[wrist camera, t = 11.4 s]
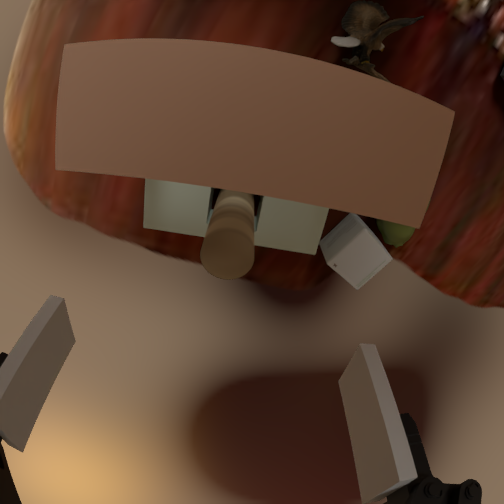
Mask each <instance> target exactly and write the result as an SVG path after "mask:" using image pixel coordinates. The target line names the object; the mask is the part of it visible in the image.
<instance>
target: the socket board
mask: <svg viewBox="0 0 504 504" xmlns="http://www.w3.org/2000/svg"><path fill="white" fill-rule="evenodd" d="M213 194H214V188H213V187H206V186H199V185H192V184H185V183H178V182H170V181H162V180H154V179H146V178H145V197H144V227H143V228H149V229H155V230H162V231H168V232H175V233H181V234H187V235H194V236H200V237H205V235H206V232H207V228H208V225H209V222H210V219H211V216H212V213H213V210H214V209H211V208H212V201H213ZM328 211H329V208H326V207H321V206H316V205H311V204H306V203H300V202H295V201H290V200H284V199H279V198H273V197H268V196H262V195H260V200H259V205H258V210H257V215H256V216H254V245H257V246H263V247H269V248H276V249H282V250H288V251H294V252H300V253H306V254H312V255H315V254H316V251H317V248H318V245H319V241H320V238H321V235H322V231H323V228H324V224H325V221H326V218H327V214H328Z"/></svg>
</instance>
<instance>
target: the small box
mask: <svg viewBox="0 0 504 504" xmlns="http://www.w3.org/2000/svg"><path fill="white" fill-rule="evenodd" d="M319 245H320V247H321V250H322V252H323V255H324V258H325V260H326V263H327V265H329V266H330V267H331V268H332V269H333V270H334V271H336V272H337V273H338V274H339V275H340V276H342V277H343V278H344V279H345V280H346V281H347V282H348V283H350V284H351V285H352V286H353V287H354V288H355V289H356V290H358V289H359V288H361V287H362V286H363V285H364V284H365V283H366V282H368V281H369V280H370V279H371V278H372V277H373V276H374V275H375V274H377V273H378V272H379V271H380V270H381V269H382V268H383V267H384V266H386V265H387V264H388V263H389V262H390V261H391V260H392V257H391V256H390V254H389V253H388V251H387V250H386V249H385V247H384V246H383V244H382V243H381V242H380V240H379V239H378V238H377V237H376V235H375V234H374V233H373V232H372V231H371V230H370V228H369V227H368V226H367V225H366V224H365V223H364V222H363V221H362V220H361V218H360V217H359V216H358V215H357V214H354V213H349V214H348V215H347V216H346V217H345V218H344V219H343V220H342V221H341V222H340V223H339V224H338V225H337V226H336V227H335V228H334V229H333V230H332V231H331V232H329V233H328V234H327V235H326V236H325V237H324V238H323V239H322V240H321V241H320V242H319Z"/></svg>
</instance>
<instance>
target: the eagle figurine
mask: <svg viewBox="0 0 504 504" xmlns="http://www.w3.org/2000/svg"><path fill="white" fill-rule="evenodd" d="M423 17H424V16H420V17H417V18H399V19H394V20H391V21H388V22H386V23H384V24H382V25H381V26H379V25H380V23H381V22H383V21H385V20H387V19H388V18H389V16H388V15H387V12H386V11H385V10H384V8H383V6H380V5H379V3H373V1H368V2H366V1H365V0H363V1H360V0H358V1H356V2H353V3H352V4H350V7H349V8H348V11H347V13H346V14H345V16H344V17H343V18H342V21H341V23H342V25H341V27H342V28H343V29H345V31H346V32H348V35H349V37H337V36H334V37H332V39H331V42H333V44H335V45H337V46H340V47H353V52H352V57H353V58H351V59H348V58H344V59H342V60H343V61H344V62H346V64H347V65H354V66H356V67H358V68H360V69H362V70H364V71H365V72H367V73H368V74H370V75H372V76H374V77H375V78H378V79H381V80H384V81H386V82H389V81H388V80H387V79H386V78H385V77H383V76H382V75H381V74H379V73H377V72H376V71H375V70H374V69H373V68H374V67H375V65H374V64H370V62H369V61H370V56H369V54H370V53H371V51H372V50H381V52H382V51H383V48H384V45H383V44H382V41H383V39H384V38H385V37H387V36H388V35H389V34H391V33H393V32H395V31H397V30H399V29H401V28H403V27H405V26H408V25H411V24H413V23H415V22H416V21H418V20H420V19H422V18H423ZM378 26H379V27H378ZM359 55H360V60H359ZM389 83H390V82H389Z"/></svg>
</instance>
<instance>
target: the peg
mask: <svg viewBox="0 0 504 504" xmlns="http://www.w3.org/2000/svg"><path fill="white" fill-rule="evenodd" d="M200 259H201V262H202V265H203V266H204V268H205V269H206V270H207V271H208V272H209V273H210V274H211V275H213V276H215V277H217V278H220V279H227V280H228V279H229V280H230V279H236V278H239V277H241V276H243V275H245V274H246V273H247V272H248V271H249V270H250V269H251V267H252V265H253V263H254V194H250V193H244V192H238V191H232V190H226V189H220V192H219V195H218V198H217V201H216V204H215V207H214V210H213V213H212V216H211V219H210V222H209V225H208V228H207V232H206V235H205V238H204V241H203V244H202V247H201V251H200Z"/></svg>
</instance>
